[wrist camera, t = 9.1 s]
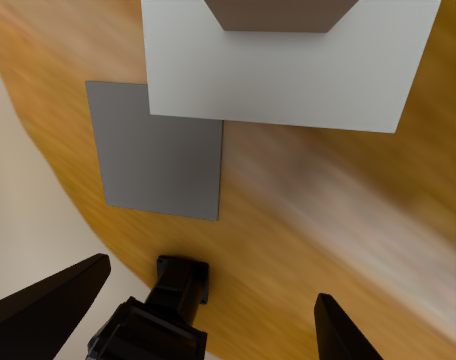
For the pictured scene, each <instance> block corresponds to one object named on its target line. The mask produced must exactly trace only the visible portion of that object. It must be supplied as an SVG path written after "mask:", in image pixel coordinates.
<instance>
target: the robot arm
mask: <svg viewBox="0 0 456 360" xmlns="http://www.w3.org/2000/svg"><path fill="white" fill-rule="evenodd" d="M204 267H205V268H204ZM157 270H158V280H157V282H156V283H155V285H154V287H153V288H152V290H151V292H150V294H149V295H148V297H147V299H146V300H145V302H144V303H142V302H140V301H138V300H136V299H135V298H134V297H132V296H130V298H129V299H128V300H127V301H126V302H124V303H123V304H120V305H119V306H118V308H117V309H116V311H115V312H114V314H113V315H112V316H111V318H110V319H109V320H108V321H107V322H106V323H105V324H104V326H103V327H102V328H101V329H100V330H99V331H98V332H97V333H96V334H95V335H94V336H93V337H92V338H91V340H90V341H89V343H88V355H87V357H86V359H85V360H204V356H205V349H206V341H207V333H206V332H204V331H202V332H201V331H199V330H197V329H195V328H193V327H192V325H193V322H194V319H195V316H196V313H197V310H198V306H199V304H207V301H208V283H209V265H208V264H206V263H201V262H195V261H189V260H183V259H178V258H172V257H166V256H159V257H158V259H157ZM110 272H111V266H110V260H109V256H108V255H106V254H101V253H98V254H96V255H94V256H92V257H89V258H87V259H85V260H83V261H81V262H79V263H77V264H75V265H73V266H71V267H69V268H66V269H64V270H62V271H60V272H58V273H56V274H54V275H52V276H49V277H47V278H45V279H43V280H41V281H39V282H37V283H35V284H33V285H31V286H28V287H26V288H24V289H22V290H20V291H18V292H16V293H14V294H12V295H9V296H7V297H5V298H3V299H1V300H0V360H53V359H54V358H55V356H56V355H57V353H58V352H59V350H60V349H61V348H62V346H63V345H64V343H65V342H66V341H67V339H68V338H69V336H70V335H71V334H72V332H73V331H74V329H75V328H76V327H77V325H78V323H79V322H80V321H81V320H82V318H83V317H84V315H85V314H86V313H87V311H88V310H89V308H90V307H91V305H92V303H93V302H94V300H95V298H96V297H97V295H98V293H99V292H100V290H101V288H102V286H103V285H104V283H105V281H106V280H107V278H108V276H109V275H110ZM314 316H315V325H316V334H317V343H318V352H319V359H320V360H383V358H382V357H381V356H380V355H379V353H378V352H377V351H376V350H375V348H374V347H373V346H372V345H371V343H370V342H369V341H368V340H367V339H366V337H365V336H364V335H363V334H362V332H361V331H360V330H359V329H358V327H357V326H356V325H355V324H354V323H353V321H352V320H351V319H350V318H349V316H348V315H347V314H346V313H345V311H344V310H343V309H342V308H341V307H340V305H339V304H338V303H337V302H336V300H335V299H334V298H333V297H332V296H331V295H330V294H325V293H319V294H318V297H317V300H316V304H315V307H314Z"/></svg>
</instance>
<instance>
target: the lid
mask: <svg viewBox="0 0 456 360" xmlns="http://www.w3.org/2000/svg"><path fill="white" fill-rule="evenodd" d="M440 2H441V0H141V5H142V18H143V30H144V43H145V55H146V68H147V80H148V93H149V105H150V114H153V115H166V116H179V117H192V118H205V119H218V120H231V121H244V122H257V123H269V124H282V125H295V126H308V127H321V128H334V129H347V130H360V131H373V132H385V133H395V131H396V128H397V125H398V122H399V119H400V116H401V113H402V111H403V108H404V105H405V102H406V99H407V96H408V93H409V91H410V88H411V85H412V82H413V79H414V76H415V73H416V71H417V68H418V65H419V62H420V59H421V56H422V53H423V51H424V48H425V45H426V42H427V39H428V36H429V33H430V31H431V28H432V25H433V22H434V19H435V16H436V14H437V11H438V8H439V5H440Z"/></svg>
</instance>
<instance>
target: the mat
mask: <svg viewBox="0 0 456 360" xmlns="http://www.w3.org/2000/svg"><path fill="white" fill-rule="evenodd" d="M85 85H86V90H87V96H88V102H89V107H90V113H91V119H92V125H93V130H94V136H95V142H96V147H97V153H98V159H99V164H100V170H101V176H102V182H103V187H104V193H105V199H106V204H107V205H109V206H116V207H122V208H129V209H136V210H143V211H150V212H156V213H163V214H170V215H177V216H184V217H191V218H197V219H204V220H211V221H218V209H219V190H220V170H221V151H222V132H223V120H218V119H205V118H192V117H179V116H166V115H153V114H150V105H149V93H148V85H140V84H125V83H109V82H94V81H85Z"/></svg>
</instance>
